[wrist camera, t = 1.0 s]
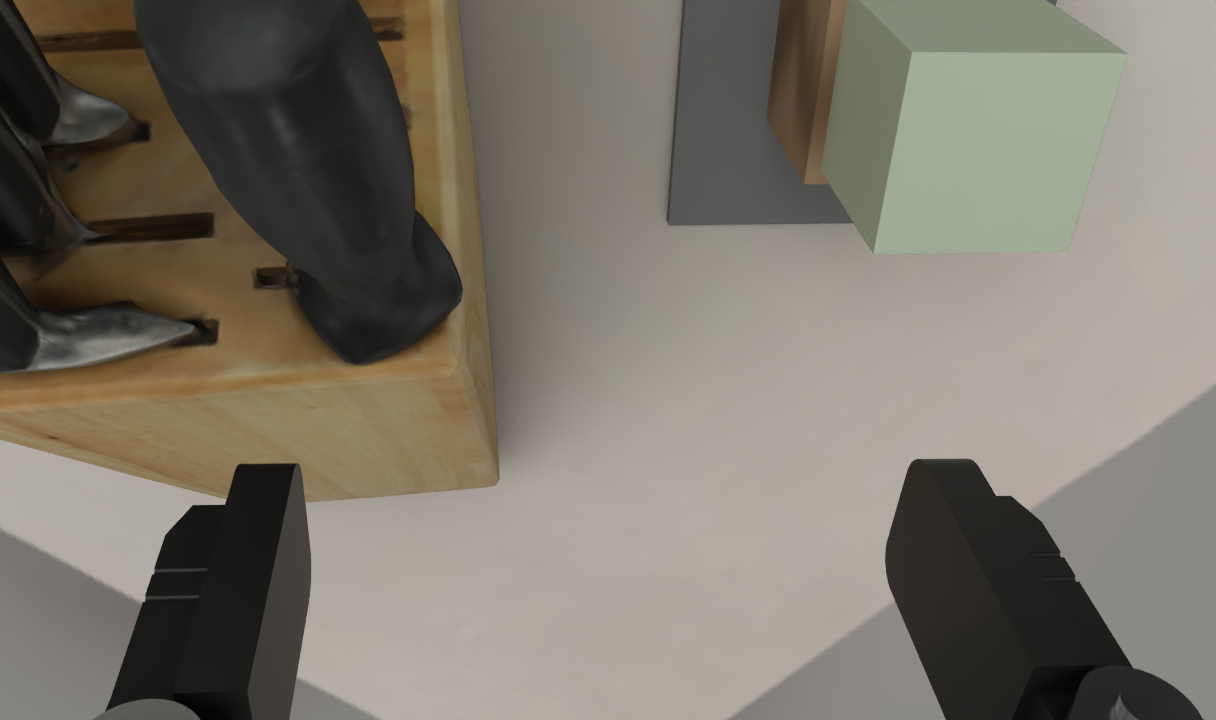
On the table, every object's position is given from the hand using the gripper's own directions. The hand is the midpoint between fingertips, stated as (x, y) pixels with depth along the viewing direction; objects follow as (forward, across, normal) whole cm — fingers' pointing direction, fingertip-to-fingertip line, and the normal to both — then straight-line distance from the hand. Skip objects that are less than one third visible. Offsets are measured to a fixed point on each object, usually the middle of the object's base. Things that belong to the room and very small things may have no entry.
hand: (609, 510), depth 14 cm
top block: (+23, -13, +2) cm, 26 cm away
